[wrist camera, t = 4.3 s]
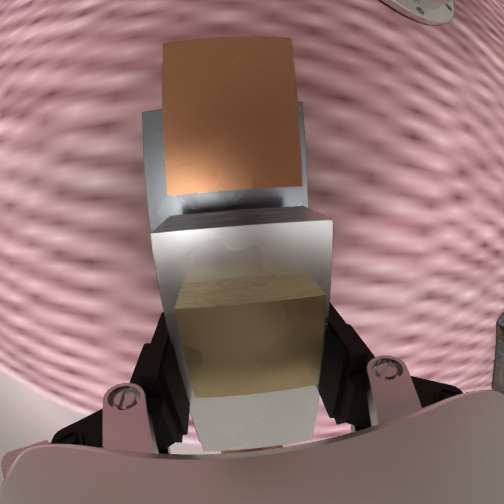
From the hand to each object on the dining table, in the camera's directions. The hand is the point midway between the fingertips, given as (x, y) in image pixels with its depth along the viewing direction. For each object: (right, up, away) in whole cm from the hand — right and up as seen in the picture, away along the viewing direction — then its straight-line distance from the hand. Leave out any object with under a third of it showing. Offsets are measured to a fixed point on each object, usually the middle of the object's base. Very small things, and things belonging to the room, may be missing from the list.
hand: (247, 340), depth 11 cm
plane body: (-1, +1, +7) cm, 7 cm away
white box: (0, 0, +1) cm, 1 cm away
